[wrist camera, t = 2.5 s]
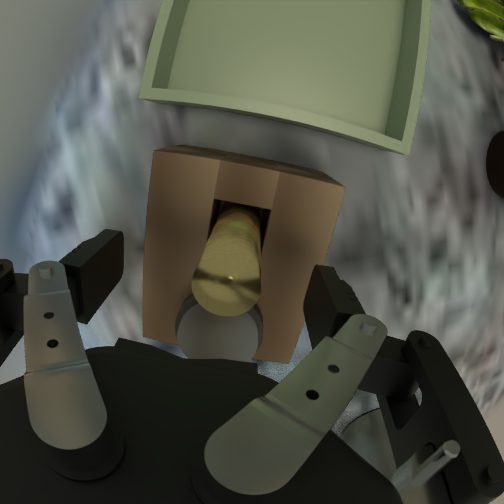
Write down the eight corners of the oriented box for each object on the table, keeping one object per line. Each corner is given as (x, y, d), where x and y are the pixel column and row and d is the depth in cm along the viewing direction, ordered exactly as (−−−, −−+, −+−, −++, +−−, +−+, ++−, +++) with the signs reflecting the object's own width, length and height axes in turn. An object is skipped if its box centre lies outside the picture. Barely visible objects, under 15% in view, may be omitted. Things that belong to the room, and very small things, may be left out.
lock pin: (263, 194, 20) (267, 263, 10) (256, 227, 21) (253, 321, 11) (227, 187, 20) (195, 249, 10) (221, 221, 21) (188, 309, 11)
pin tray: (408, -7, 14) (431, -23, 10) (384, 150, 19) (408, 155, 16) (203, -54, 13) (194, -79, 9) (159, 103, 19) (138, 98, 15)
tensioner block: (322, 171, 20) (360, 197, 13) (283, 314, 25) (291, 389, 17) (181, 144, 20) (136, 154, 12) (165, 292, 24) (131, 359, 17)
